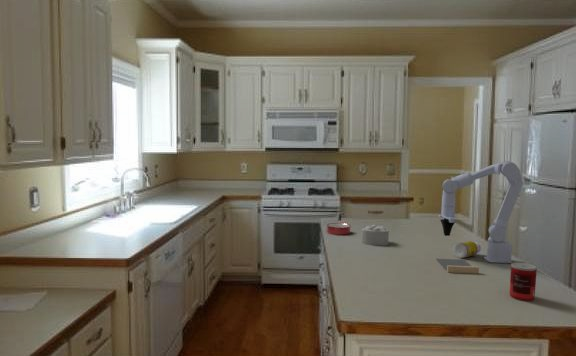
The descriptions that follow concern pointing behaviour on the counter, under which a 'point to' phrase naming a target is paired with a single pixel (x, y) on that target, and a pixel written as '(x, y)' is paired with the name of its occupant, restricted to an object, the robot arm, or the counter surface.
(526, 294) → the canned food
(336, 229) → the frying pan
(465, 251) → the supplement bottle
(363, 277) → the counter surface
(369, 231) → the lumpy-topped squat cylinder
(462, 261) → the mat
